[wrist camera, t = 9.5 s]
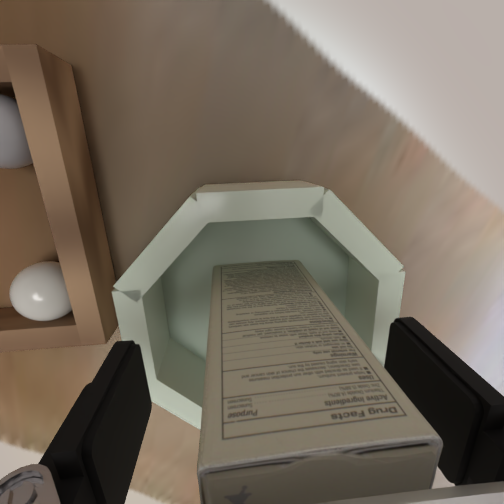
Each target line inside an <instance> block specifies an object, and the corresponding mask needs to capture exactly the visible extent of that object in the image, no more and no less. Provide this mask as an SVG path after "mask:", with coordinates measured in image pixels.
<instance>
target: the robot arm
mask: <svg viewBox="0 0 504 504" xmlns="http://www.w3.org/2000/svg"><path fill="white" fill-rule="evenodd" d="M384 368H385V369H386V371H387V372H388V373H389V374H390V376H391V377H392V378H393V379H394V381H395V382H396V383H397V384H398V386H399V387H400V388H401V389H402V391H403V392H404V393H405V395H406V396H407V397H408V398H409V400H410V401H411V402H412V403H413V404H414V406H415V407H416V408H417V409H418V411H419V412H420V413H421V414H422V415H423V417H424V418H425V419H426V420H427V422H428V423H429V424H430V425H431V426H432V428H433V429H434V430H435V431H436V433H437V434H438V435H439V436H440V438H441V439H442V441H443V448H442V452H441V455H440V458H439V462H438V468H439V469H440V470H441V472H442V473H443V475H444V476H445V478H446V479H447V480H448V481H449V482H450V483H454V485H455V486H452V487H444V488H435V489H427V490H419V491H411V492H403V493H394V494H386V495H378V496H370V497H362V498H354V499H347V500H339V501H331V502H323V503H315V504H504V396H502V395H501V394H500V393H499V392H498V391H497V390H496V389H494V388H493V387H492V386H491V385H490V384H489V383H488V382H486V381H485V380H484V379H483V378H482V377H481V376H480V375H478V374H477V373H476V372H475V371H474V370H473V369H472V368H470V367H469V366H468V365H467V364H466V363H465V362H464V361H462V360H461V359H460V358H459V357H458V356H457V355H456V354H454V353H453V352H452V351H451V350H450V349H449V348H448V347H446V346H445V345H444V344H443V343H442V342H441V341H440V340H438V339H437V338H436V337H435V336H434V335H433V334H432V333H430V332H429V331H428V330H427V329H426V328H425V327H424V326H422V325H421V324H420V323H419V322H418V321H417V320H416V319H414V318H413V317H404V318H396V319H395V320H394V322H392V323H391V324H390V329H389V336H388V343H387V350H386V357H385V364H384ZM151 406H152V402H151V397H150V392H149V387H148V382H147V377H146V372H145V367H144V362H143V357H142V352H141V347H140V345H139V344H135V342H134V341H133V340H129V341H117V342H115V344H114V345H113V347H112V349H111V350H110V352H109V354H108V355H107V357H106V359H105V361H104V362H103V364H102V366H101V367H100V369H99V371H98V373H97V374H96V376H95V378H94V379H93V381H92V383H89V384H87V385H86V386H85V388H84V389H83V390H82V392H81V394H80V395H79V397H78V399H77V400H76V402H75V404H74V405H73V407H72V409H71V410H70V412H69V414H68V415H67V417H66V419H65V420H64V422H63V424H62V425H61V427H60V429H59V430H58V432H57V434H56V435H55V437H54V439H53V440H52V442H51V444H50V445H49V447H48V449H47V450H46V452H45V453H44V455H43V457H42V459H41V460H40V462H39V463H38V464H31V465H28V466H25V467H21V468H19V469H17V470H15V471H13V472H11V473H9V474H8V475H6V476H5V477H4V478H2V479H1V480H0V504H124V503H125V500H126V496H127V493H128V489H129V486H130V482H131V479H132V476H133V472H134V469H135V465H136V462H137V458H138V455H139V451H140V448H141V444H142V441H143V437H144V434H145V431H146V427H147V424H148V420H149V417H150V413H151Z"/></svg>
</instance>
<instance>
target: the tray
mask: <svg viewBox="0 0 504 504" xmlns="http://www.w3.org/2000/svg"><path fill="white" fill-rule="evenodd" d="M0 94H3V95H6V96H9V97H16V100H17V104H18V108H19V111H20V115H21V119H22V123H23V126H24V130H25V134H26V138H27V142H28V145H29V149H30V153H31V157H32V160H33V164H34V168H35V172H36V175H37V179H38V183H39V187H40V190H41V194H42V198H43V202H44V205H45V209H46V213H47V217H48V220H49V224H50V228H51V232H52V235H53V239H54V243H55V247H56V250H57V254H58V258H59V262H60V265H61V269H62V273H63V277H64V280H65V284H66V288H67V292H68V295H69V299H70V303H71V307H72V311H71V312H69V313H68V314H67V315H65V316H63V317H61V318H58V319H55V320H50V321H36V320H32V319H29V318H26V317H24V316H22V315H21V314H20V313H18V312H17V311H16V310H15V308H14V307H11V308H0V352H10V351H23V350H35V349H48V348H60V347H73V346H85V345H97V344H106V343H107V342H108V340H109V339H110V337H111V336H112V334H113V333H114V331H115V330H116V328H117V327H118V325H119V324H118V319H117V315H116V310H115V305H114V301H113V296H112V291H113V290H114V288H115V287H113V286H114V285H115V283H116V280H115V275H114V270H113V265H112V260H111V256H110V251H109V246H108V241H107V236H106V231H105V226H104V222H103V217H102V212H101V207H100V202H99V197H98V192H97V187H96V183H95V178H94V173H93V168H92V163H91V158H90V153H89V148H88V144H87V139H86V134H85V129H84V124H83V119H82V114H81V110H80V105H79V100H78V95H77V90H76V85H75V80H74V75H73V71H72V66H71V65H70V64H68V63H67V62H65V61H63V60H62V59H60V58H58V57H57V56H55V55H53V54H52V53H50V52H48V51H47V50H45V49H43V48H42V47H40V46H38V45H37V44H9V45H0Z"/></svg>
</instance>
